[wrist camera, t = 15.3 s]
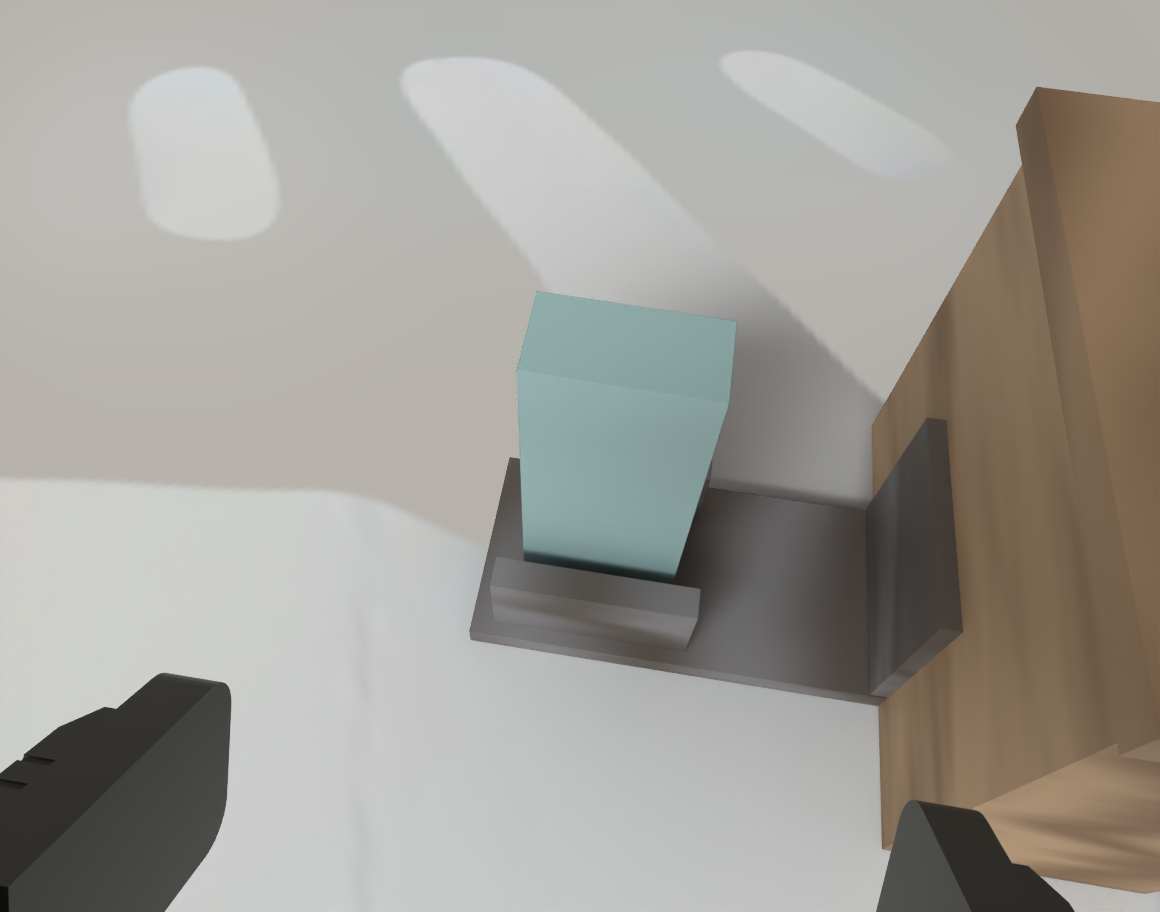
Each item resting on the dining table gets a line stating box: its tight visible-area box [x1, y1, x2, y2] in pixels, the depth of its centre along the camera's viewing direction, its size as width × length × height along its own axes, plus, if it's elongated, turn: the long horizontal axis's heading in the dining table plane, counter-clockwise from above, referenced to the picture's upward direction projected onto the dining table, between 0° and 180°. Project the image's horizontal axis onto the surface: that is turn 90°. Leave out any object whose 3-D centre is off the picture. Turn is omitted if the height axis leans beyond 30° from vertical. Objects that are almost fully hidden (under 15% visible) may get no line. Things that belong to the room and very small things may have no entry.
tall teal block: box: [517, 291, 737, 584], centre depth 27 cm, size 5×3×12 cm
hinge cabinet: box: [469, 87, 1160, 894], centre depth 25 cm, size 22×17×15 cm
